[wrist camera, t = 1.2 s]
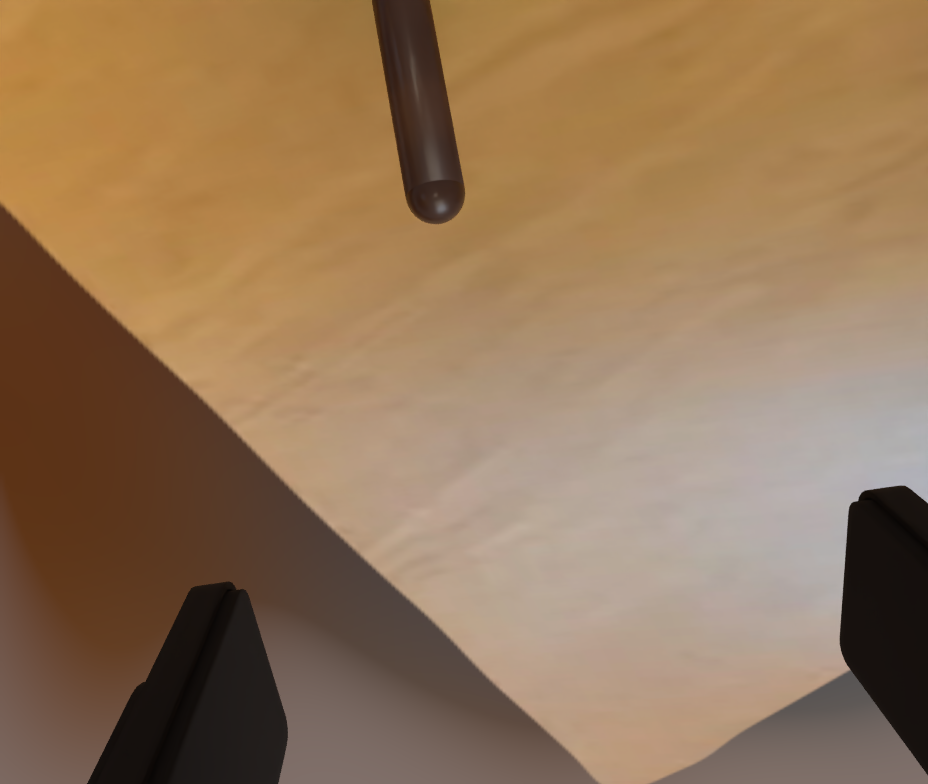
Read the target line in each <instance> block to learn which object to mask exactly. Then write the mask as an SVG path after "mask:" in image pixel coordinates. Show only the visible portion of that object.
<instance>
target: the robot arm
mask: <svg viewBox="0 0 928 784" xmlns="http://www.w3.org/2000/svg"><path fill="white" fill-rule="evenodd" d="M840 647H841V651H842V655H843V657H844V659H845V662H846V663H847V665H848V667H849V668H850V669H851V671H852V672H853V674H854V675H855V676H856V678H857V679H858V680H859V682H860V683H861V684H862V686H863V687H864V689H865V690H866V691H867V693H868V694H869V695H870V697H871V698H872V699H873V701H874V702H875V704H876V705H877V706H878V708H879V709H880V710H881V712H882V713H883V714H884V716H885V717H886V719H887V720H888V721H889V723H890V724H891V725H892V727H893V728H894V729H895V731H896V732H897V734H898V735H899V736H900V738H901V739H902V740H903V742H904V743H905V744H906V746H907V747H908V748H909V750H910V751H911V753H912V754H913V755H914V757H915V758H916V760H917V761H918V762H919V764H920V765H921V766H922V768H923V769H924V771H925V772H926V773H927V775H928V503H927V502H926V501H924V500H923V499H922V498H921V497H919V496H918V495H917V494H916V493H915V492H913V491H912V490H911V489H909V488H908V487H906V486H894V487H887V488H880V489H873V490H866V491H864V492H862V493H861V495H860V497H859V500H858V501H857V502H853V503H851V505H850V507H849V514H848V528H847V543H846V557H845V571H844V585H843V599H842V614H841V628H840ZM287 738H288V728H287V720H286V716H285V713H284V709H283V706H282V703H281V700H280V696H279V693H278V690H277V687H276V683H275V680H274V677H273V674H272V671H271V667H270V664H269V661H268V657H267V654H266V651H265V648H264V644H263V641H262V638H261V635H260V631H259V628H258V625H257V622H256V618H255V615H254V612H253V608H252V606H251V602H250V599H249V596H248V593H247V592H246V590H244V589H241V590H236V588H235V586H234V585H233V583H231V582H223V583H216V584H208V585H202V586H195V587H193V588H191V590H190V591H189V593H188V595H187V597H186V599H185V601H184V603H183V605H182V607H181V610H180V611H179V614H178V616H177V618H176V620H175V622H174V624H173V626H172V628H171V630H170V632H169V634H168V636H167V638H166V640H165V643H164V645H163V647H162V649H161V651H160V653H159V655H158V657H157V659H156V661H155V663H154V665H153V667H152V669H151V671H150V673H149V676H148V678H147V680H146V682H143V683H141V684H140V685H139V686H137V687H136V689H135V690H134V692H133V693H132V695H131V697H130V699H129V701H128V703H127V705H126V707H125V709H124V711H123V713H122V715H121V717H120V719H119V721H118V723H117V725H116V727H115V729H114V731H113V733H112V735H111V737H110V739H109V741H108V743H107V745H106V747H105V749H104V751H103V753H102V755H101V757H100V759H99V761H98V763H97V765H96V767H95V769H94V771H93V773H92V775H91V777H90V779H89V781H88V783H87V784H278V782H279V777H280V773H281V769H282V764H283V760H284V755H285V750H286V746H287Z"/></svg>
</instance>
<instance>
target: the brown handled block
mask: <svg viewBox="0 0 928 784" xmlns="http://www.w3.org/2000/svg"><path fill="white" fill-rule="evenodd" d="M372 5H373V10H374V16H375V22H376V28H377V34H378V39H379V45H380V51H381V57H382V63H383V68H384V74H385V80H386V86H387V92H388V97H389V103H390V109H391V115H392V121H393V126H394V132H395V138H396V144H397V150H398V155H399V161H400V167H401V173H402V179H403V184H404V190H405V196H406V201H407V204H408V206H409V208H410V210H411V212H412V213H413V214H414V215H415V216H416V217H417V218H418V219H420V220H421V221H424V222H426V223H429V224H442V223H445V222H448V221H449V220H451V219H453V218H454V217H455V216H456V215H457V214H458V213H459V211H460V210H461V208H462V206H463V203H464V198H465V188H464V182H463V177H462V172H461V166H460V161H459V155H458V150H457V145H456V139H455V134H454V128H453V123H452V118H451V112H450V107H449V102H448V96H447V91H446V85H445V80H444V75H443V69H442V64H441V59H440V53H439V48H438V42H437V37H436V32H435V26H434V21H433V15H432V10H431V5H430V0H372Z"/></svg>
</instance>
